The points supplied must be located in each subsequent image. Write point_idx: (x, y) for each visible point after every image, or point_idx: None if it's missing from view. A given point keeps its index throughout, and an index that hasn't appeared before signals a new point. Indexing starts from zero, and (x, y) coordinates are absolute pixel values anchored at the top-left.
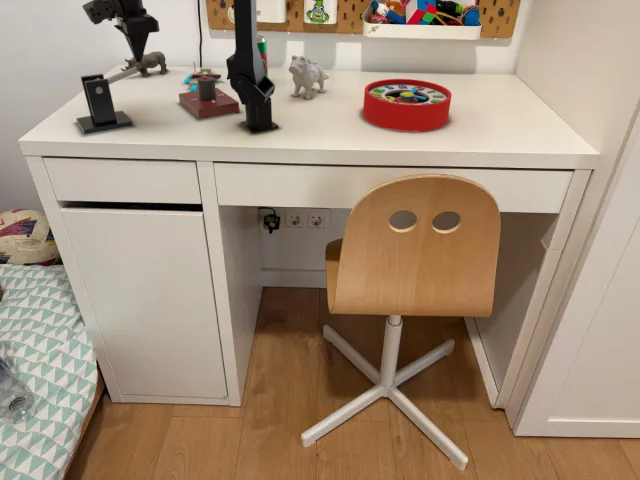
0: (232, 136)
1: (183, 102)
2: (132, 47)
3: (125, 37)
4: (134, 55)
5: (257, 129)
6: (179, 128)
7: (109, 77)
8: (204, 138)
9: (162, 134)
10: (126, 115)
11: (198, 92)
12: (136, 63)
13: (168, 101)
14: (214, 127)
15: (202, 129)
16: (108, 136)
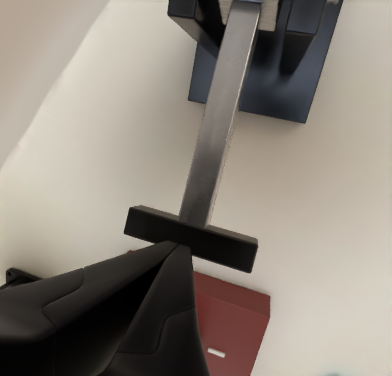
0: (19, 235)
1: (233, 293)
2: (85, 270)
3: (193, 363)
4: (142, 249)
5: (11, 281)
6: (110, 186)
7: (244, 61)
8: (34, 191)
9: (99, 135)
10: (248, 111)
11: (237, 354)
12: (236, 256)
13: (317, 290)
14: (75, 243)
15: (78, 219)
16: (167, 4)
